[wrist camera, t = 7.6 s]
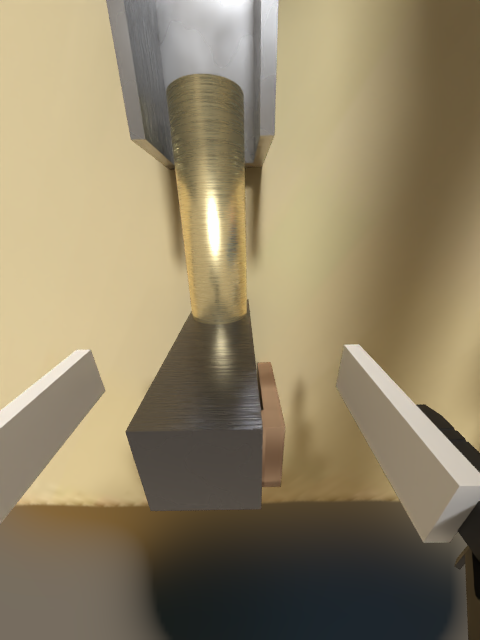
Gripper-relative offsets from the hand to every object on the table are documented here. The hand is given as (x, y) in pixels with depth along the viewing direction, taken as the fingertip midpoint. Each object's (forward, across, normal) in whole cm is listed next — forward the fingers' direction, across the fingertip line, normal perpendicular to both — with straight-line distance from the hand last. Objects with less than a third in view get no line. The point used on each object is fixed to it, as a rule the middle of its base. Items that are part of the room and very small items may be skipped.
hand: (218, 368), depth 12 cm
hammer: (+7, 0, +2) cm, 7 cm away
